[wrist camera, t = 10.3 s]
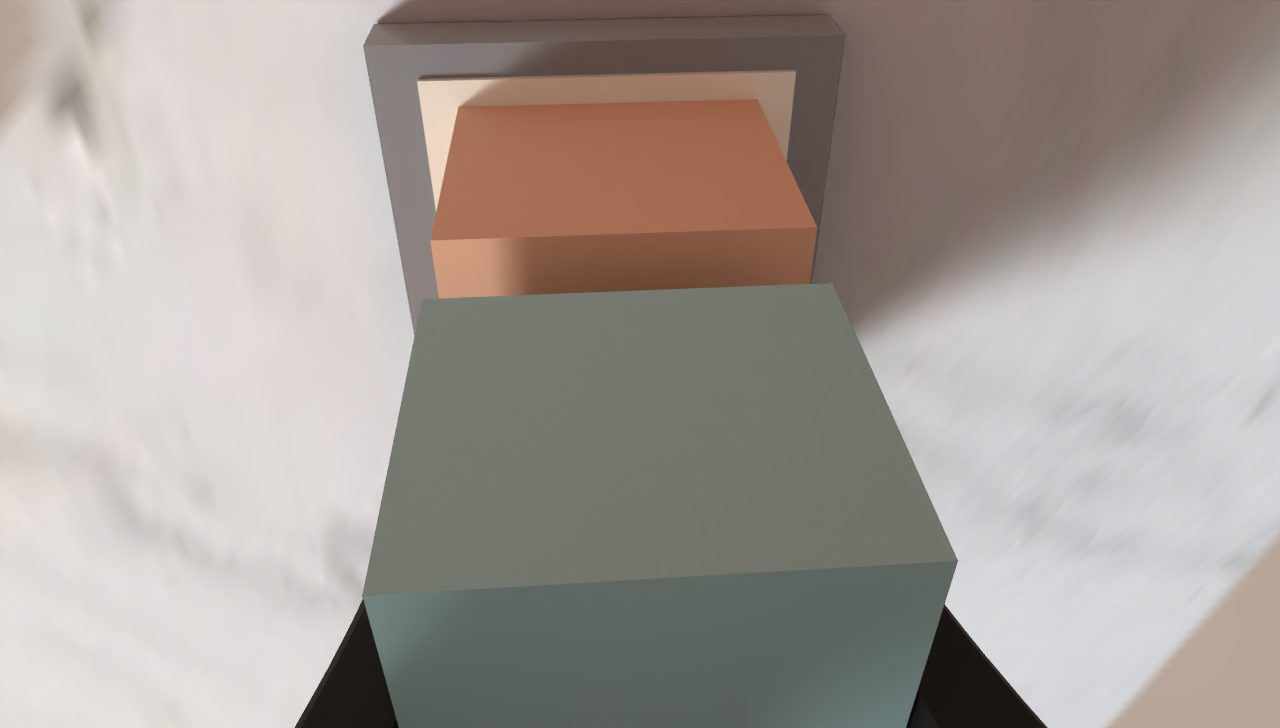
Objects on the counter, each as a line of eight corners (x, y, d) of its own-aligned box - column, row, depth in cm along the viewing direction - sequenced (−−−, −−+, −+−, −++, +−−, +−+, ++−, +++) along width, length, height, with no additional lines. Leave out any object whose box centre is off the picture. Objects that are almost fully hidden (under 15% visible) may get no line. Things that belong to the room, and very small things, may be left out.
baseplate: (776, 444, 20) (786, 479, 19) (446, 460, 20) (442, 497, 19) (828, 15, 15) (847, 37, 14) (374, 23, 14) (362, 48, 13)
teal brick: (775, 663, 15) (838, 944, 11) (486, 682, 14) (467, 974, 11) (832, 282, 10) (957, 560, 7) (422, 299, 10) (362, 595, 7)
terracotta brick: (729, 443, 18) (766, 607, 15) (499, 454, 18) (488, 623, 15) (757, 98, 14) (816, 227, 11) (458, 106, 14) (430, 241, 11)
